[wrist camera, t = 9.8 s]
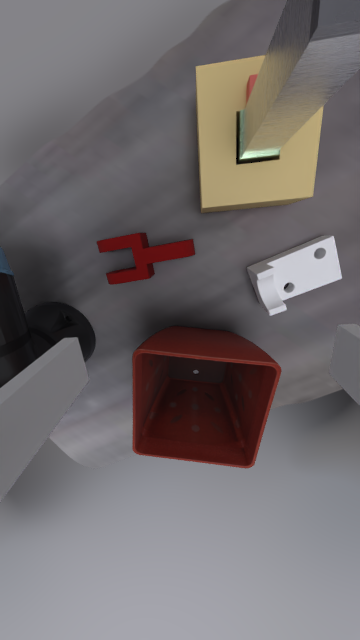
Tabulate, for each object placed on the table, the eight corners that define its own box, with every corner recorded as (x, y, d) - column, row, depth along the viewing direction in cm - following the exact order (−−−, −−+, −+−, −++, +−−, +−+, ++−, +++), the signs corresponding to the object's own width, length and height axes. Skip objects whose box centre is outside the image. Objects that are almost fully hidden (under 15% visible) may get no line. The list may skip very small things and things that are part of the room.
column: (235, 166, 29) (314, 30, 10) (236, 122, 27) (332, -148, 8) (271, 162, 28) (430, 10, 9) (274, 117, 27) (474, -182, 8)
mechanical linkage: (114, 280, 42) (104, 285, 37) (103, 241, 40) (91, 242, 35) (197, 266, 40) (197, 270, 35) (191, 224, 38) (190, 223, 33)
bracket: (257, 301, 42) (270, 315, 35) (246, 267, 40) (256, 274, 33) (329, 274, 39) (358, 283, 32) (321, 235, 37) (350, 236, 30)
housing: (200, 213, 37) (202, 206, 28) (196, 105, 32) (195, 55, 23) (288, 204, 35) (319, 194, 26) (297, 90, 30) (340, 31, 21)
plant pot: (154, 307, 43) (131, 349, 28) (252, 317, 43) (284, 365, 27) (151, 386, 50) (132, 454, 35) (235, 395, 50) (253, 469, 34)
